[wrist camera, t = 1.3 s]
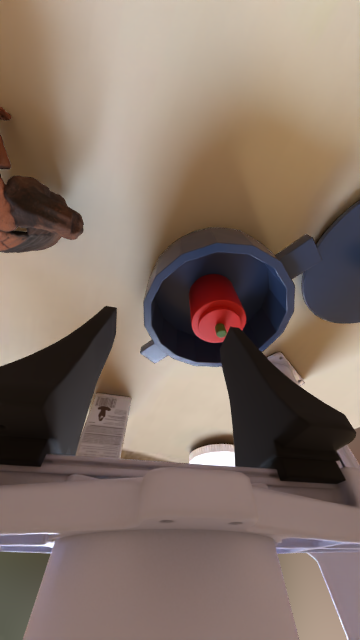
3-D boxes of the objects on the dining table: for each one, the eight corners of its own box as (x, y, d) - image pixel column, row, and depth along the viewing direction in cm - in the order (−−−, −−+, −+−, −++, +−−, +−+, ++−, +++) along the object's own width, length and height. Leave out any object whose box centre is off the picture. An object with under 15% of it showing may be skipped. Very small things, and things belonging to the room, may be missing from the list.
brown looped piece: (-14, 244, 20) (-165, 209, 12) (1, 139, 18) (-160, 17, 10) (98, 280, 19) (19, 271, 11) (124, 174, 17) (55, 71, 9)
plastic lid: (178, 448, 49) (178, 460, 47) (231, 433, 45) (234, 446, 43) (205, 465, 56) (206, 476, 54) (253, 454, 52) (256, 465, 50)
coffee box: (127, 421, 41) (104, 538, 28) (94, 417, 40) (54, 537, 27) (132, 396, 35) (107, 526, 23) (94, 391, 34) (45, 524, 22)
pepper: (242, 296, 23) (262, 336, 17) (206, 319, 25) (214, 361, 19) (217, 264, 20) (231, 298, 15) (179, 292, 22) (180, 332, 17)
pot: (317, 284, 22) (347, 309, 19) (184, 360, 30) (185, 390, 26) (259, 164, 16) (286, 164, 12) (108, 300, 23) (94, 327, 20)
